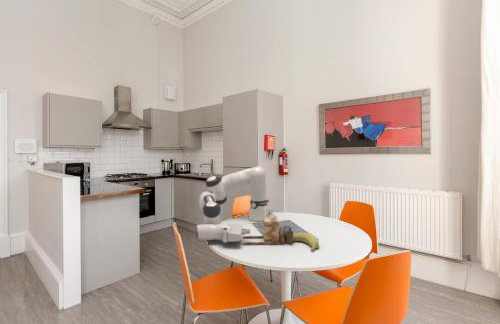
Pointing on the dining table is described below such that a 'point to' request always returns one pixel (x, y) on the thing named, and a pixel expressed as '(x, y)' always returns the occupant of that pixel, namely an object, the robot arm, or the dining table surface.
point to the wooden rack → (282, 235)
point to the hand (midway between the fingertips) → (250, 231)
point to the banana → (307, 239)
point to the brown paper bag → (271, 229)
